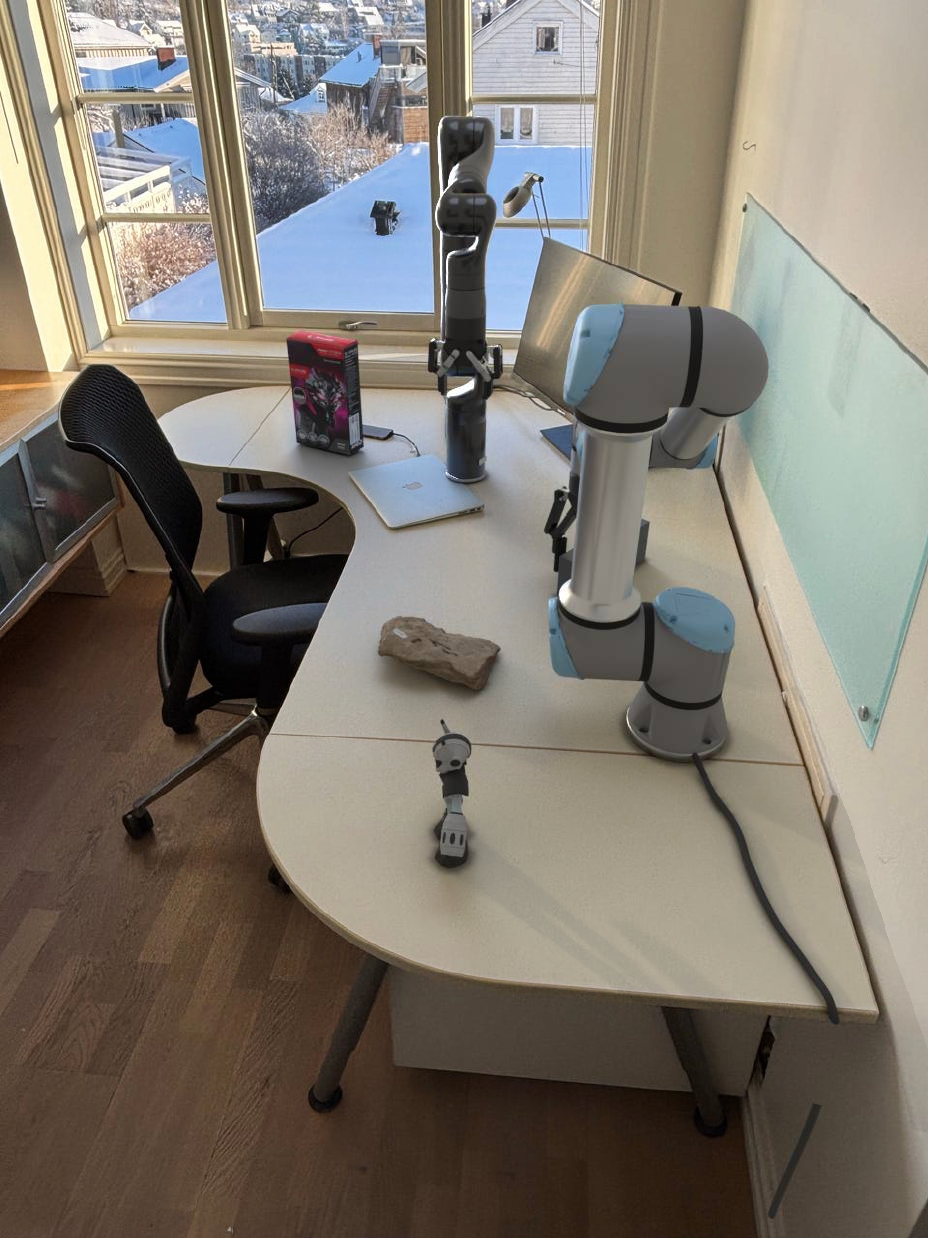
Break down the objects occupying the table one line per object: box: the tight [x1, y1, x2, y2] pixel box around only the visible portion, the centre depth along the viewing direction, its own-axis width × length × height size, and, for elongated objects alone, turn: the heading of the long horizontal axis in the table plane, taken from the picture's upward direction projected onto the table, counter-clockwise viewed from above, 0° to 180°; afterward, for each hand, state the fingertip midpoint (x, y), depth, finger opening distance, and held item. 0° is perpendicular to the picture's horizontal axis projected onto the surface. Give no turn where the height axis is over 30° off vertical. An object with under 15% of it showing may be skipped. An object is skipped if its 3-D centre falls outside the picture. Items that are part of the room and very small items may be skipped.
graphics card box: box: [285, 330, 365, 456], centre depth 225 cm, size 17×7×27 cm, turn 62°
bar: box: [556, 518, 651, 597], centre depth 179 cm, size 23×5×9 cm, turn 138°
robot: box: [431, 718, 473, 868], centre depth 118 cm, size 20×5×20 cm, turn 3°
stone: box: [377, 615, 502, 691], centre depth 155 cm, size 21×15×6 cm
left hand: (465, 396), depth 178 cm, fingers open, 8 cm apart
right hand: (581, 578), depth 175 cm, fingers open, 10 cm apart
